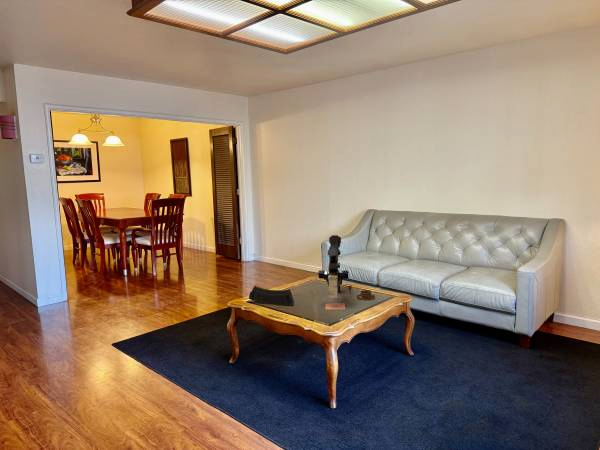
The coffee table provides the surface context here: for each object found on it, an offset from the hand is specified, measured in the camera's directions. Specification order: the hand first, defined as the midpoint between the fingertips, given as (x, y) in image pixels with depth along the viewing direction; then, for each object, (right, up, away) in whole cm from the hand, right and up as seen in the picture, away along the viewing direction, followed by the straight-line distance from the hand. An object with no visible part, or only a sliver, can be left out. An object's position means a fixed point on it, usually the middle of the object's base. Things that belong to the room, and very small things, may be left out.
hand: (333, 286), depth 252 cm
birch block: (0, -7, +2) cm, 7 cm away
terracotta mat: (+2, -13, +3) cm, 14 cm away
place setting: (+23, -11, +25) cm, 35 cm away
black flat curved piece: (-39, -13, +13) cm, 43 cm away
